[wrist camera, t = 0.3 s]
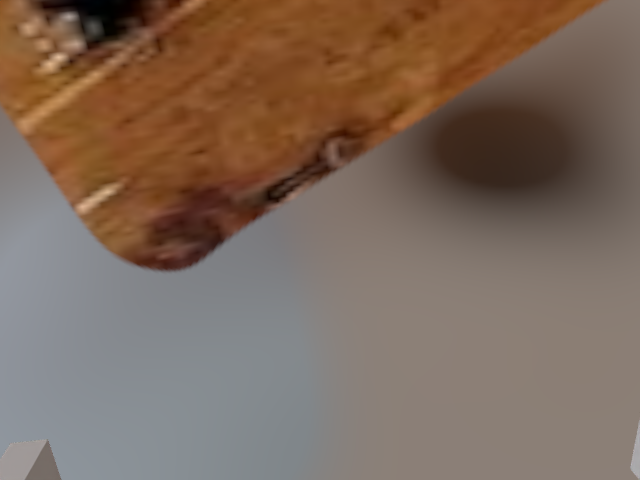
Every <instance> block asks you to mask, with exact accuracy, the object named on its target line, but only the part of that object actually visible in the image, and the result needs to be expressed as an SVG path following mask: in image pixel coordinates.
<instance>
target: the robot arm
mask: <svg viewBox="0 0 640 480" xmlns="http://www.w3.org/2000/svg"><path fill="white" fill-rule="evenodd" d="M630 468H631V470H632V471H633V473H634V474H635V475H636V476H637V477H638V479H639V480H640V420H639V426H638V430H637V436H636V441H635V446H634V451H633V457H632V462H631V467H630ZM0 480H61V478H60V475H59V472H58V469H57V466H56V462H55V459H54V456H53V453H52V450H51V447H50V444H49V441H48V439H46V440H37V441H27V442H18V443H11V444H10V446H9V447H8V448H7V450H6V451H5V453H4V454H3V456H2V457H1V459H0Z"/></svg>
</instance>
